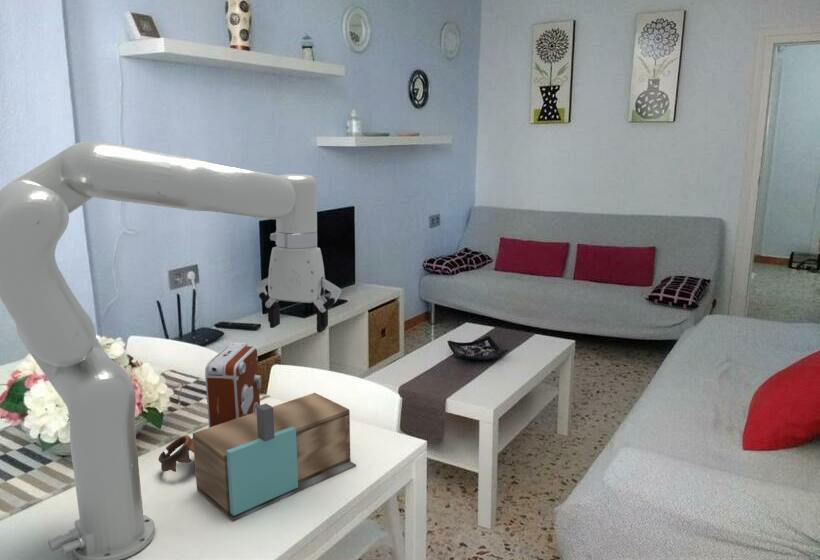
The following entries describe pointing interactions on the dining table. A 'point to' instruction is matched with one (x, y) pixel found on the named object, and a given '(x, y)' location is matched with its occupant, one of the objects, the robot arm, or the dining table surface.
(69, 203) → the robot arm
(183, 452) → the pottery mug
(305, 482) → the cabinet
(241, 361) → the cine camera
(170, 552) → the dining table surface
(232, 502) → the door
